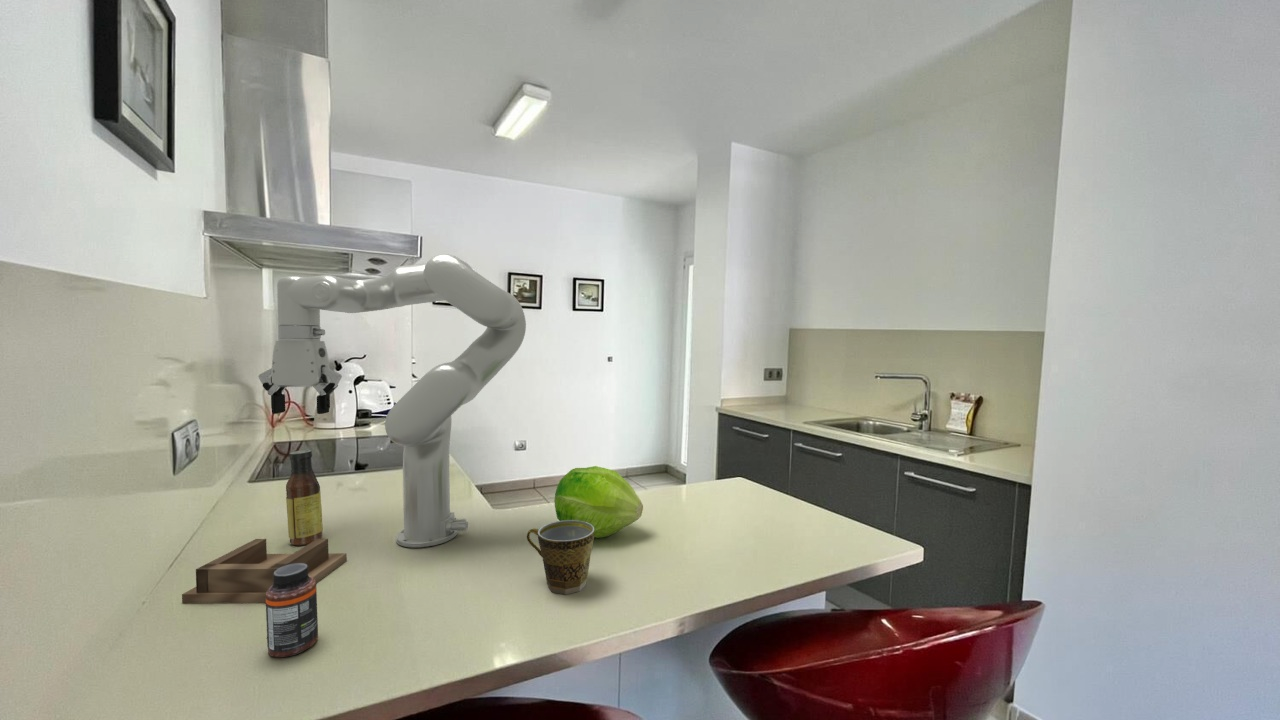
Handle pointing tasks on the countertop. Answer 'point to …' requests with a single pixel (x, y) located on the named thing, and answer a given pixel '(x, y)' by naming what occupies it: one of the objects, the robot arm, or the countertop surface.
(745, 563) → the countertop surface
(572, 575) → the ceramic cup
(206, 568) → the bottle stand
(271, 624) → the supplement bottle
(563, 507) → the lettuce
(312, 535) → the sauce bottle
